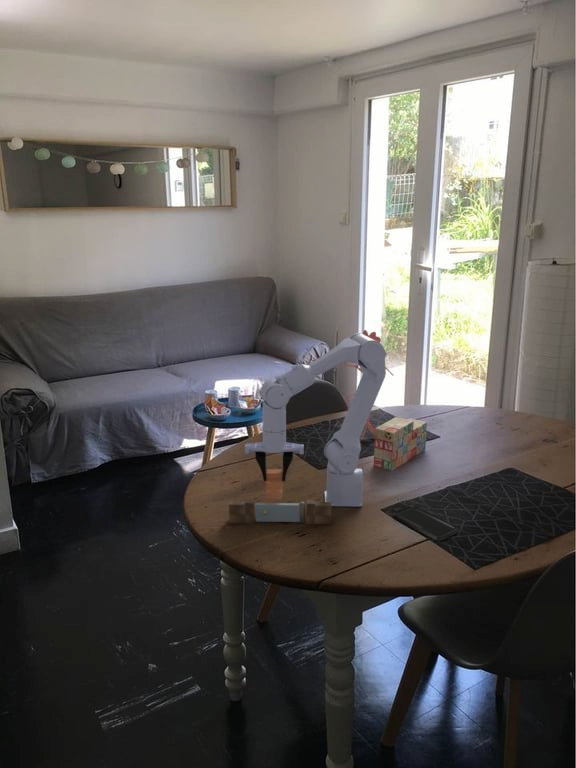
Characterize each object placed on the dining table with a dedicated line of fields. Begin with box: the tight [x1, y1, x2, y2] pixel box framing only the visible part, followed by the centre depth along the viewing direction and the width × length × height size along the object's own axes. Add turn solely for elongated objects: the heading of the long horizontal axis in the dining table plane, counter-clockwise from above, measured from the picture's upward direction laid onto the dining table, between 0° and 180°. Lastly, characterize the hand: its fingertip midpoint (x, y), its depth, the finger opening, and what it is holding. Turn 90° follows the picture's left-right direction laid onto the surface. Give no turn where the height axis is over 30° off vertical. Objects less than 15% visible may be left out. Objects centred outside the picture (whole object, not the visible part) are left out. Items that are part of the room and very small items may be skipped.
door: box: [254, 501, 306, 523], centre depth 155 cm, size 12×2×5 cm, turn 89°
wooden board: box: [228, 498, 333, 525], centre depth 155 cm, size 25×2×6 cm, turn 89°
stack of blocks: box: [373, 416, 428, 472], centre depth 192 cm, size 21×6×12 cm, turn 141°
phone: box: [392, 505, 459, 541], centre depth 155 cm, size 8×1×15 cm
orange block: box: [265, 468, 284, 500], centre depth 159 cm, size 4×6×5 cm, turn 179°
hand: (274, 479), depth 160 cm, fingers closed on orange block, 4 cm apart
